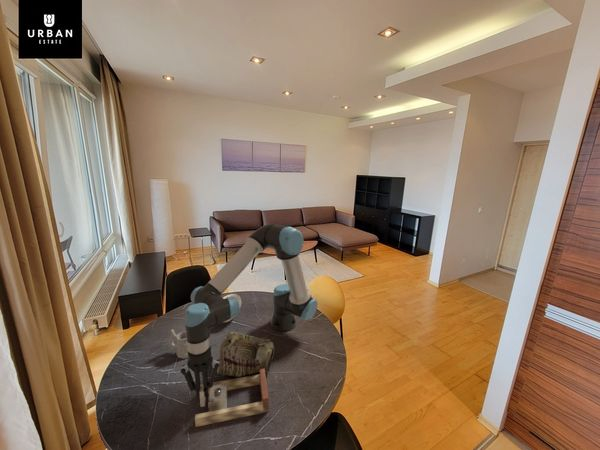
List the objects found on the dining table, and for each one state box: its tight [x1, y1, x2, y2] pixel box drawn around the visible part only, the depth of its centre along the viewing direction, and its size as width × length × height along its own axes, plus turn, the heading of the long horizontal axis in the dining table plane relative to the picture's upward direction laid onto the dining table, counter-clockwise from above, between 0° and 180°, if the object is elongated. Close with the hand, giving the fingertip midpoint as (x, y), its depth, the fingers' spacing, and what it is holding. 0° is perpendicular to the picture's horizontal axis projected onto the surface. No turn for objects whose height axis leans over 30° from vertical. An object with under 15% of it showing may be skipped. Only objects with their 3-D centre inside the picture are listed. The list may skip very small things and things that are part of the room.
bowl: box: [222, 293, 242, 323], centre depth 149 cm, size 30×15×6 cm, turn 3°
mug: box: [168, 328, 188, 360], centre depth 116 cm, size 8×12×12 cm, turn 83°
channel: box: [194, 368, 270, 428], centre depth 93 cm, size 25×14×6 cm, turn 104°
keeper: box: [207, 383, 228, 412], centre depth 91 cm, size 6×7×6 cm
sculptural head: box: [216, 331, 275, 378], centre depth 108 cm, size 17×21×25 cm
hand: (203, 403), depth 90 cm, fingers closed
